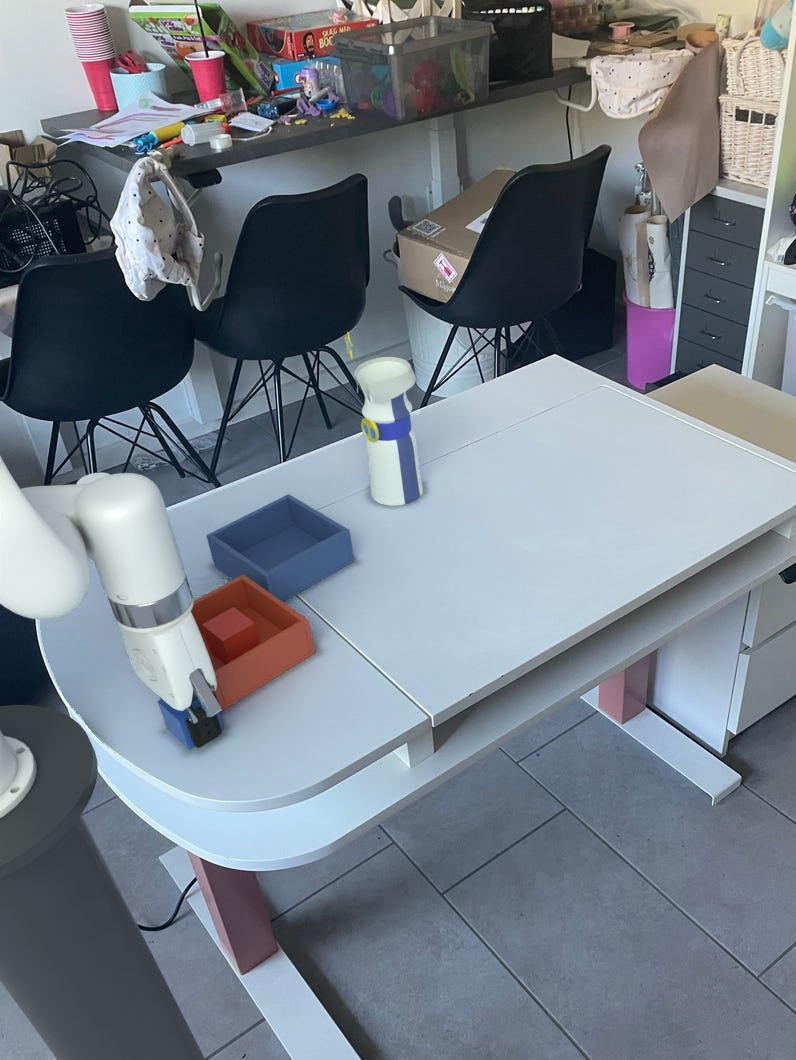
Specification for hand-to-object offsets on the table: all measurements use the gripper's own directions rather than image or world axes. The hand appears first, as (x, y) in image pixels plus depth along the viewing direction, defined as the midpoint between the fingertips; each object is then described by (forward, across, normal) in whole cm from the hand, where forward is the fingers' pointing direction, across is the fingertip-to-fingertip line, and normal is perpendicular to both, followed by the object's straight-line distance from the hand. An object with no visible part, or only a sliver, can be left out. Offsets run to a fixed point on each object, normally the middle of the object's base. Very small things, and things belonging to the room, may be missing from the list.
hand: (195, 726), depth 103 cm
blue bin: (0, -18, +25) cm, 31 cm away
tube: (+1, -31, +9) cm, 32 cm away
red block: (0, -7, +10) cm, 12 cm away
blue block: (0, 0, 0) cm, 0 cm away
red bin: (0, -7, +10) cm, 12 cm away
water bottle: (0, -20, +47) cm, 51 cm away
